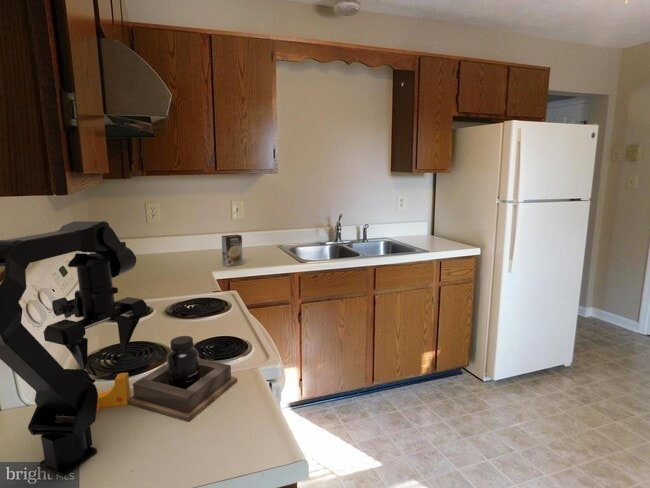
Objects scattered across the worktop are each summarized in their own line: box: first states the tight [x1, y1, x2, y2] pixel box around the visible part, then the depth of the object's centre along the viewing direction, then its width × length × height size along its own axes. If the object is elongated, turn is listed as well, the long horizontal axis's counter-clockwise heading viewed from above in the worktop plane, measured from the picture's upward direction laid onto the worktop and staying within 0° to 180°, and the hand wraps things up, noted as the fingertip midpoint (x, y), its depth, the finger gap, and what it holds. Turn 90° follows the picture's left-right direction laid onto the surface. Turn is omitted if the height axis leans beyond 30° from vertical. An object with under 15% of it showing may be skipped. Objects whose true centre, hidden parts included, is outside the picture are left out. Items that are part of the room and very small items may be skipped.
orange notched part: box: [96, 372, 132, 414], centre depth 86 cm, size 12×4×6 cm, turn 100°
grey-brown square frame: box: [127, 358, 238, 423], centre depth 92 cm, size 17×17×4 cm
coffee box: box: [221, 234, 244, 268], centre depth 214 cm, size 9×6×16 cm
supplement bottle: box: [166, 335, 200, 389], centre depth 90 cm, size 7×7×12 cm
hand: (104, 358), depth 81 cm, fingers open, 9 cm apart
